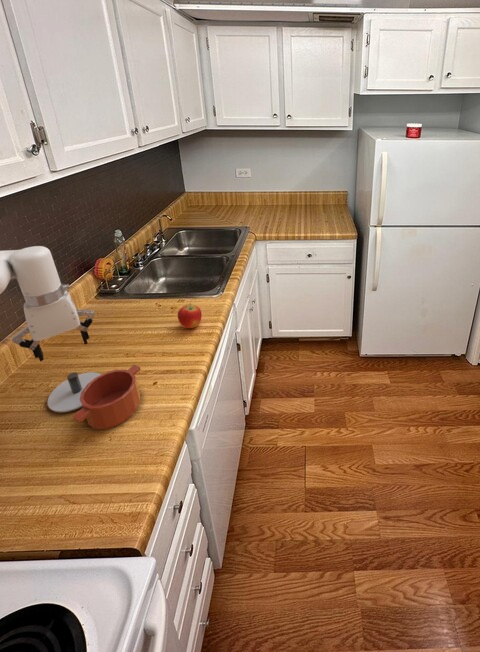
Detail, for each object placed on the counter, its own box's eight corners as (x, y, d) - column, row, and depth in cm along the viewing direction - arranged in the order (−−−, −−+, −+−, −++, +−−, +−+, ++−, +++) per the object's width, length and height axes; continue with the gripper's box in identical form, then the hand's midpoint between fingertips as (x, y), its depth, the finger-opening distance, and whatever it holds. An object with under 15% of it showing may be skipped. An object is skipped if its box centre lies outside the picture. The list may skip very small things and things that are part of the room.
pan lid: (36, 405, 91) (29, 387, 88) (84, 369, 103) (78, 353, 100) (71, 420, 86) (64, 402, 84) (116, 382, 98) (111, 364, 96)
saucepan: (65, 429, 84) (57, 407, 82) (125, 377, 100) (120, 358, 97) (101, 445, 80) (94, 424, 78) (158, 389, 96) (153, 369, 93)
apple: (184, 319, 126) (180, 297, 123) (205, 319, 127) (202, 296, 123) (176, 333, 119) (172, 310, 115) (199, 332, 119) (195, 309, 116)
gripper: (83, 277, 90) (99, 329, 96) (-1, 301, 80) (22, 356, 86) (87, 289, 85) (103, 342, 91) (-3, 315, 74) (22, 373, 81)
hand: (64, 349), depth 89 cm, fingers open, 9 cm apart
